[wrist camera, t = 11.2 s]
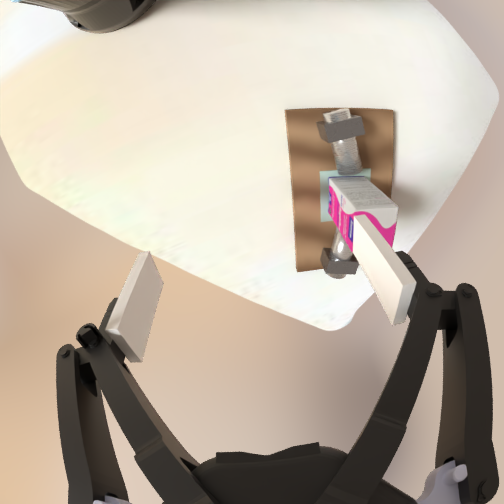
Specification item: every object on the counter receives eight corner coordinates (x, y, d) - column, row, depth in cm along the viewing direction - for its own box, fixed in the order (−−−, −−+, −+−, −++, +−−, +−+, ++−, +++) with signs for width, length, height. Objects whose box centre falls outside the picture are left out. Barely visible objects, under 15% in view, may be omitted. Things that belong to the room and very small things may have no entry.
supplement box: (326, 176, 37) (356, 208, 27) (363, 175, 37) (402, 205, 27) (325, 213, 40) (351, 254, 30) (361, 210, 40) (394, 249, 30)
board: (284, 109, 33) (286, 110, 32) (389, 109, 33) (393, 110, 32) (296, 268, 47) (297, 272, 46) (380, 256, 46) (383, 260, 45)
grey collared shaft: (313, 114, 33) (321, 116, 29) (348, 106, 32) (359, 108, 29) (329, 172, 37) (337, 180, 34) (361, 163, 36) (372, 170, 33)
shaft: (329, 219, 41) (337, 230, 38) (359, 222, 41) (368, 233, 38) (318, 265, 45) (324, 279, 42) (346, 266, 46) (353, 279, 43)
